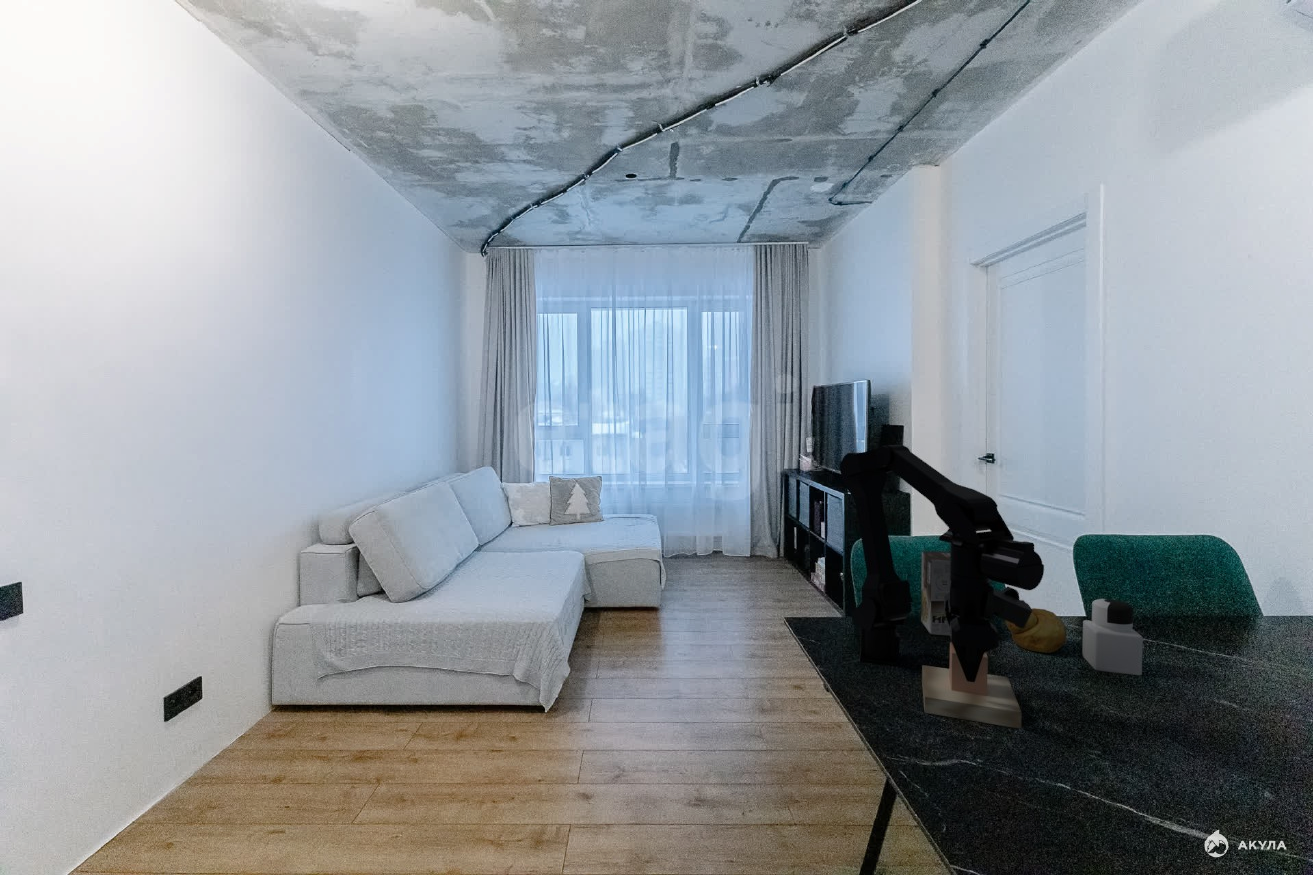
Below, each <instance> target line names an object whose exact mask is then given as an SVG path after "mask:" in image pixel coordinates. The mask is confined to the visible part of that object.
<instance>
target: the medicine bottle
mask: <svg viewBox="0 0 1313 875" xmlns="http://www.w3.org/2000/svg"><path fill="white" fill-rule="evenodd" d="M1091 604H1092V605H1091V608H1092V609H1091V620H1088V619H1085V620H1083V621H1082V653H1081V654H1082V657H1083V659H1085V660H1086V662H1087V663H1089V665H1090V666H1091V667H1092V668H1093V669H1094V670H1095V671H1097V672H1105V673H1106V672H1107V673H1108V672H1109V673H1116V674H1123V675H1124V674H1126V675H1133V676H1142V674H1143V644H1144V642H1143V640H1144V639H1143V636H1142V635H1141V634H1139V633H1138V632H1137V631H1135V629H1134V628H1133V626H1134V608H1133V606H1132V605H1131V604H1129V603H1128V602H1125V601H1121V600H1118V599H1112V598H1098V599H1095V600H1093V601H1092V603H1091Z"/></svg>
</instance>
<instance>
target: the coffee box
mask: <svg viewBox="0 0 1313 875" xmlns="http://www.w3.org/2000/svg"><path fill="white" fill-rule="evenodd" d="M949 575H950V551H944V550H943V551H941V550H936V551H935V550H934V551H933V550H931V551H929V550H928V551H927V550H922V551H921V590H920V591H921V595H920V597H921V602H920V603H921V604H920V605H921V606H920V607H921V608H920V609H921V613H920V614H921V616H920V619H921V620H920V622H921V623H922V624H923V626H924V627H925V628H926V630H927V631H928V633H929V634H930V635H935V636H936V635H938V636H939V635H940V636H949V637H950V626H949V623H948V621H947V618H946V614H945V609H944V596H945V595H947V594H948V593H949V592H950V584H949Z"/></svg>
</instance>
